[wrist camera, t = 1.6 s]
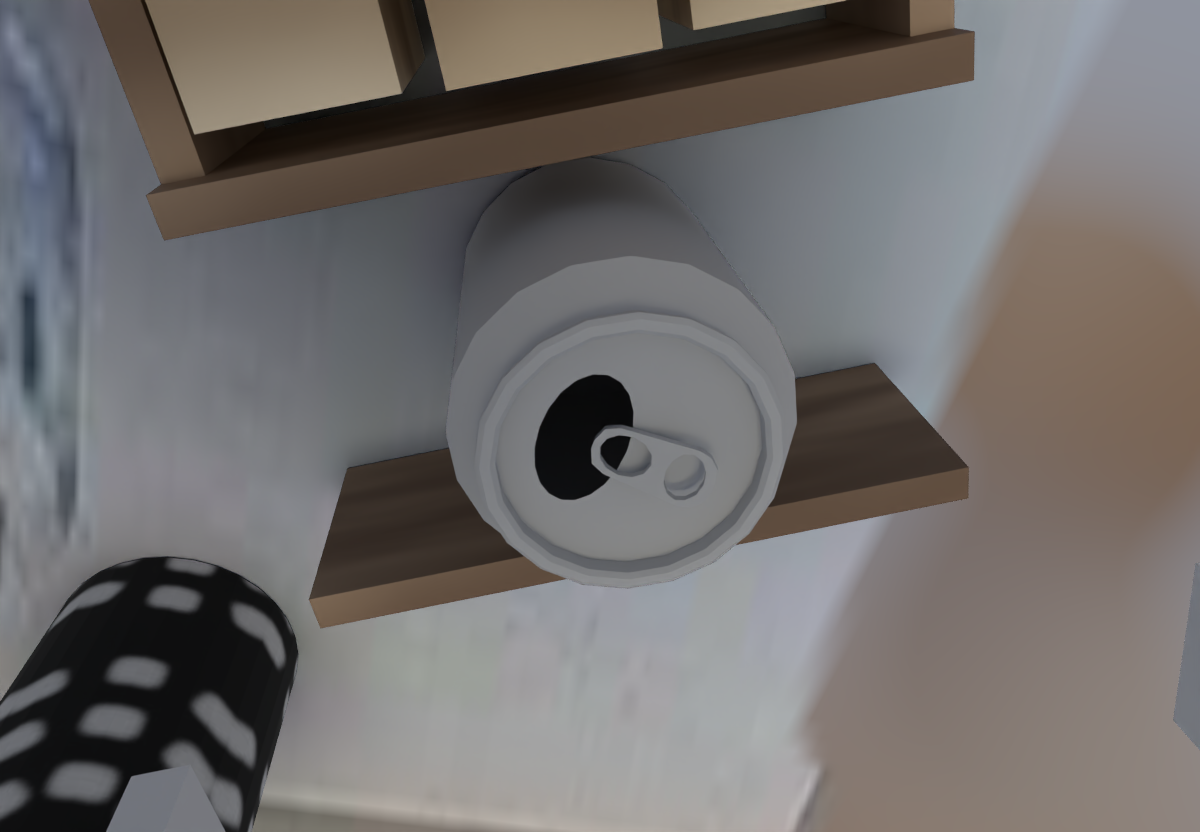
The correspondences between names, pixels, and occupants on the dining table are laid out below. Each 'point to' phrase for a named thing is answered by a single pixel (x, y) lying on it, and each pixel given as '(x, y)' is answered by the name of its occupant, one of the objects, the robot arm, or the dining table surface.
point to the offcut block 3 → (727, 10)
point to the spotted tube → (146, 696)
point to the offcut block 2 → (535, 35)
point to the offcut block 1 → (284, 55)
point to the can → (613, 380)
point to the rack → (530, 139)
